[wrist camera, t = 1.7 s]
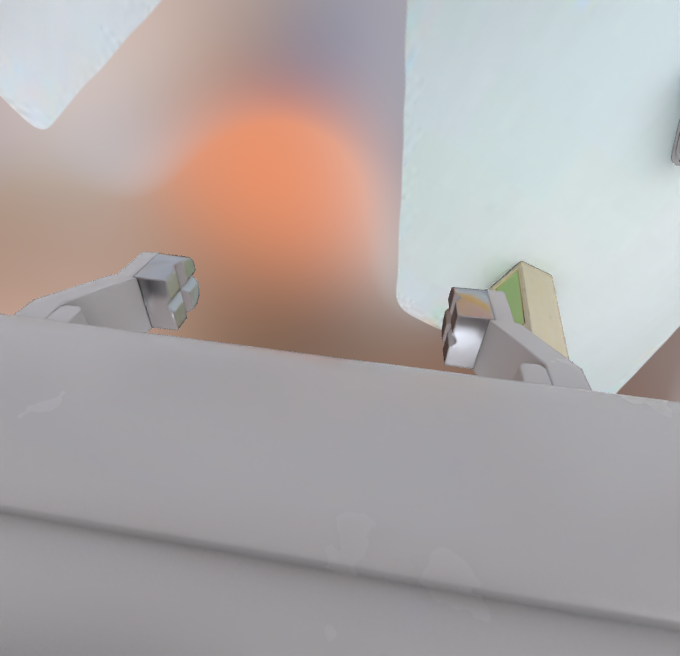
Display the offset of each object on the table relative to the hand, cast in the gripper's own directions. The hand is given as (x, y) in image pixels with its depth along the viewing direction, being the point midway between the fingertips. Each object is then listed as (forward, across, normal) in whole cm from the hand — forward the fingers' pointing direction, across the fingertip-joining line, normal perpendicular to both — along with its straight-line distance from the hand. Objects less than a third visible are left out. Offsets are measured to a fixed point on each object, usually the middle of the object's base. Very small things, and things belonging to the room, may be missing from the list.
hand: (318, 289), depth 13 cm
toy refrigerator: (+54, -26, +29) cm, 67 cm away
